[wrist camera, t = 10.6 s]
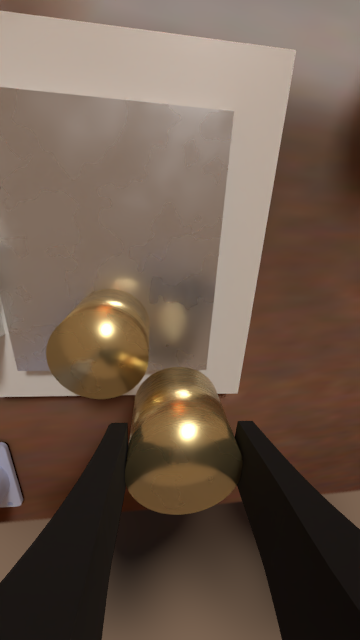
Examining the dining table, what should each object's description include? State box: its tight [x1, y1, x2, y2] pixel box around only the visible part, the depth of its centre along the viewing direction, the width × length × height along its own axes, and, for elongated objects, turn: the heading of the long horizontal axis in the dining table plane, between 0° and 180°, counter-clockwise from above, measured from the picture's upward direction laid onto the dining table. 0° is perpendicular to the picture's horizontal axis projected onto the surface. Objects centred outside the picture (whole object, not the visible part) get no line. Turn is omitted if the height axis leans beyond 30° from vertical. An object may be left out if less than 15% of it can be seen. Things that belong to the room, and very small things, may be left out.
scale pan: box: [0, 87, 234, 371], centre depth 14 cm, size 12×14×1 cm
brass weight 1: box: [46, 289, 150, 399], centre depth 13 cm, size 4×4×4 cm
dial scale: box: [0, 11, 296, 397], centre depth 13 cm, size 18×20×6 cm
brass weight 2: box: [125, 367, 243, 515], centre depth 11 cm, size 4×4×4 cm
